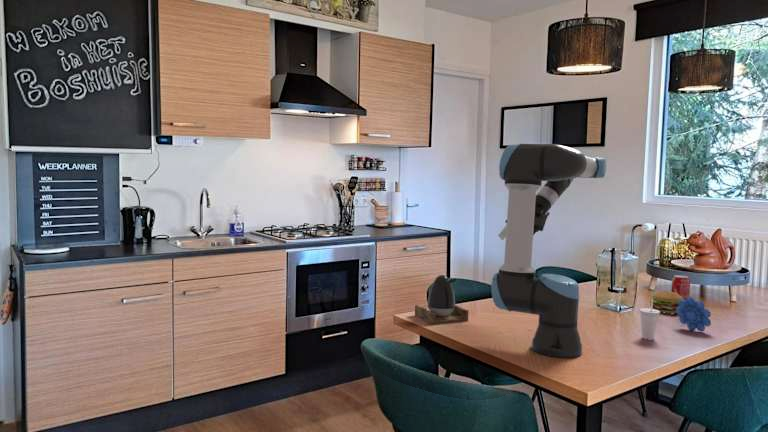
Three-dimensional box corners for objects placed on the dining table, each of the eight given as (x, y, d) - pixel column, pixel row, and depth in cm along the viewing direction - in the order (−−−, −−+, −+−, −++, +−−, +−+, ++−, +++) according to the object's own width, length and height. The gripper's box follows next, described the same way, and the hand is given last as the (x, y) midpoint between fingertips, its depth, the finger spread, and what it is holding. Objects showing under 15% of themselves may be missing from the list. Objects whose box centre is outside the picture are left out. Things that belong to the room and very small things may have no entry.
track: (468, 321, 210) (468, 310, 210) (432, 324, 204) (433, 314, 204) (448, 312, 223) (448, 302, 223) (414, 315, 217) (415, 305, 216)
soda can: (672, 300, 252) (673, 274, 251) (689, 303, 248) (691, 276, 247) (669, 303, 246) (671, 276, 245) (687, 306, 242) (689, 278, 241)
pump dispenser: (454, 319, 207) (455, 278, 206) (425, 317, 209) (427, 276, 208) (456, 312, 217) (457, 273, 216) (429, 310, 219) (430, 272, 218)
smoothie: (657, 342, 189) (659, 301, 188) (636, 338, 192) (638, 298, 191) (659, 337, 194) (661, 297, 193) (639, 334, 198) (641, 295, 196)
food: (687, 317, 224) (688, 297, 223) (648, 312, 230) (649, 292, 230) (688, 310, 235) (689, 291, 235) (651, 305, 242) (652, 287, 242)
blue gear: (670, 329, 205) (673, 296, 204) (676, 325, 210) (678, 293, 209) (706, 336, 197) (709, 302, 196) (712, 332, 202) (714, 299, 201)
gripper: (571, 209, 212) (538, 251, 207) (528, 205, 234) (497, 242, 229) (561, 195, 209) (527, 237, 204) (518, 192, 232) (486, 229, 226)
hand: (511, 240), depth 217 cm, fingers open, 13 cm apart
